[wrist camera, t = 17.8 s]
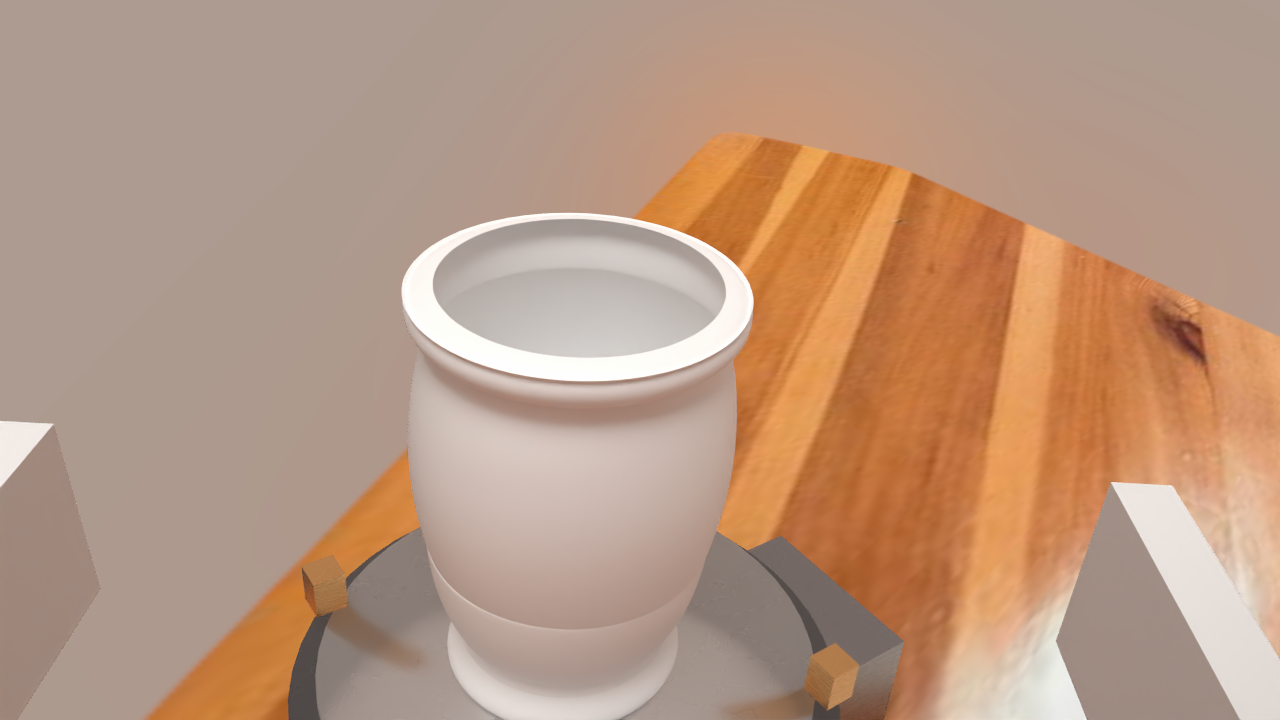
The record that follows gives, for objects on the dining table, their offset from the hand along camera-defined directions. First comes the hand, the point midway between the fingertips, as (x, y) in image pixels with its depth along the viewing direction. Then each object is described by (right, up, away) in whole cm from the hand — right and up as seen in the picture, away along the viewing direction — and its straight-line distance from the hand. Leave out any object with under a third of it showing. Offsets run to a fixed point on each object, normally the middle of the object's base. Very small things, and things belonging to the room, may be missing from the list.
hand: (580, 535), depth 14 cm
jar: (-2, -8, +26) cm, 28 cm away
